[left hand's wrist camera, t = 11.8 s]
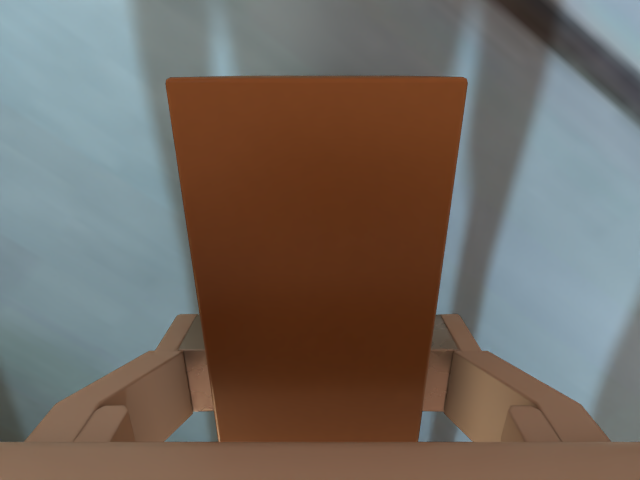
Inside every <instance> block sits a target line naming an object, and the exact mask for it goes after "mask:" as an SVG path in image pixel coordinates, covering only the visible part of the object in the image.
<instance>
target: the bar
mask: <svg viewBox="0 0 640 480" xmlns="http://www.w3.org/2000/svg"><path fill="white" fill-rule="evenodd" d="M467 85H468V82H467V79H466V78H464V77H441V76H394V75H393V76H210V77H170V78H168V79H167V80H166V90H167V97H168V104H169V111H170V117H171V124H172V131H173V138H174V144H175V151H176V158H177V165H178V171H179V178H180V185H181V192H182V198H183V205H184V212H185V219H186V225H187V232H188V239H189V246H190V252H191V259H192V266H193V273H194V280H195V286H196V293H197V300H198V307H199V313H200V320H201V327H202V334H203V340H204V347H205V354H206V361H207V367H208V374H209V381H210V388H211V394H212V401H213V408H214V415H215V421H216V428H217V435H218V442H418V438H419V431H420V424H421V417H422V410H423V402H424V395H425V388H426V381H427V373H428V366H429V359H430V352H431V345H432V337H433V330H434V323H435V316H436V309H437V301H438V294H439V287H440V280H441V273H442V265H443V258H444V251H445V244H446V236H447V229H448V222H449V215H450V208H451V200H452V193H453V186H454V179H455V172H456V164H457V157H458V150H459V143H460V135H461V128H462V121H463V114H464V107H465V99H466V92H467Z"/></svg>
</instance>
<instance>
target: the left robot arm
mask: <svg viewBox="0 0 640 480" xmlns="http://www.w3.org/2000/svg"><path fill="white" fill-rule="evenodd" d="M195 411H214V408H213V401H212V394H211V388H210V381H209V374H208V367H207V361H206V354H205V347H204V340H203V334H202V327H201V320H200V314H199V315H198V314H180V315H177V316H176V318H175V319H174V321H173V323H172V324H171V326H170V327H169V329H168V331H167V332H166V334H165V335H164V337H163V339H162V340H161V342H160V343H159V345H158V347H157V348H156V350H155V351H148V352H146V353H144V354H143V355H141V356H139V357H137V358H136V359H134V360H132V361H130V362H129V363H127V364H125V365H123V366H122V367H120V368H118V369H116V370H114V371H113V372H111V373H109V374H107V375H106V376H104V377H102V378H100V379H99V380H97V381H95V382H93V383H92V384H90V385H88V386H86V387H84V388H83V389H81V390H79V391H77V392H76V393H74V394H72V395H70V396H69V397H67V398H65V399H63V400H61V401H60V402H58V403H56V404H55V405H54V406H53V408H52V409H51V410H50V411H49V412H48V414H47V415H46V416H45V417H44V418H43V420H42V421H41V422H40V423H39V424H38V426H37V427H36V428H35V429H34V430H33V432H32V433H31V434H30V435H29V436H28V438H27V439H26V440H25V441H24V442H0V480H640V442H611V441H610V439H609V438H608V437H607V436H606V435H605V433H604V432H603V431H602V430H601V428H600V427H599V426H598V425H597V424H596V422H595V421H594V420H593V419H592V417H591V416H590V415H589V414H588V412H587V411H586V410H585V409H584V408H583V406H582V405H581V404H579V403H578V402H576V401H574V400H572V399H571V398H569V397H567V396H565V395H564V394H562V393H560V392H558V391H557V390H555V389H553V388H551V387H550V386H548V385H546V384H544V383H543V382H541V381H539V380H537V379H536V378H534V377H532V376H530V375H529V374H527V373H525V372H523V371H522V370H520V369H518V368H517V367H515V366H513V365H511V364H510V363H508V362H506V361H504V360H503V359H501V358H499V357H497V356H496V355H494V354H492V353H490V352H489V351H482V350H481V349H480V347H479V346H478V344H477V342H476V341H475V339H474V338H473V336H472V334H471V333H470V331H469V329H468V328H467V326H466V325H465V323H464V321H463V320H462V318H461V317H460V315H458V314H438V315H436V316H435V323H434V330H433V337H432V345H431V352H430V359H429V366H428V373H427V381H426V388H425V395H424V402H423V410H422V411H441V412H444V414H445V415H446V416H447V417H448V418H449V419H450V420H451V421H452V422H453V423H454V424H455V425H456V426H457V427H458V428H459V429H460V430H462V431H463V432H464V433H465V434H466V435H467V436H468V437H469V438H470V439H471V440H472V441H473V442H164V441H165V440H166V439H167V438H168V437H169V436H170V435H171V434H172V433H173V432H174V431H175V430H176V429H177V428H178V427H179V426H181V425H182V424H183V423H184V422H185V421H186V420H187V419H188V418H189V417H190V416H191V415H192V414H193V412H195Z"/></svg>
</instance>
